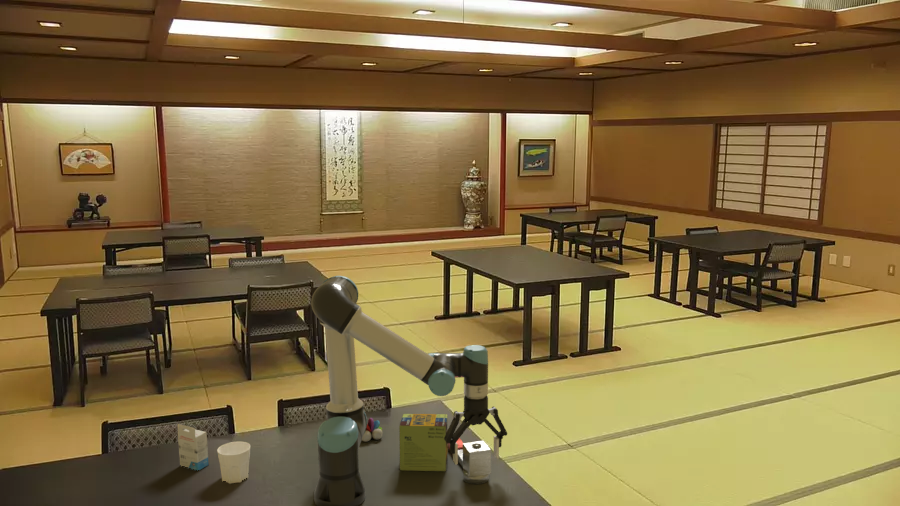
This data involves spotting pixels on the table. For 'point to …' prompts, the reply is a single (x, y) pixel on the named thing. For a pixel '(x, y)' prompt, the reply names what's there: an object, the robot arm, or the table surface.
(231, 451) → the cup
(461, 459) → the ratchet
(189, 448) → the ink box
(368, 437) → the rainbow finned toy
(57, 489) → the table surface
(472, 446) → the metal cube with knob
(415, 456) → the protein box
